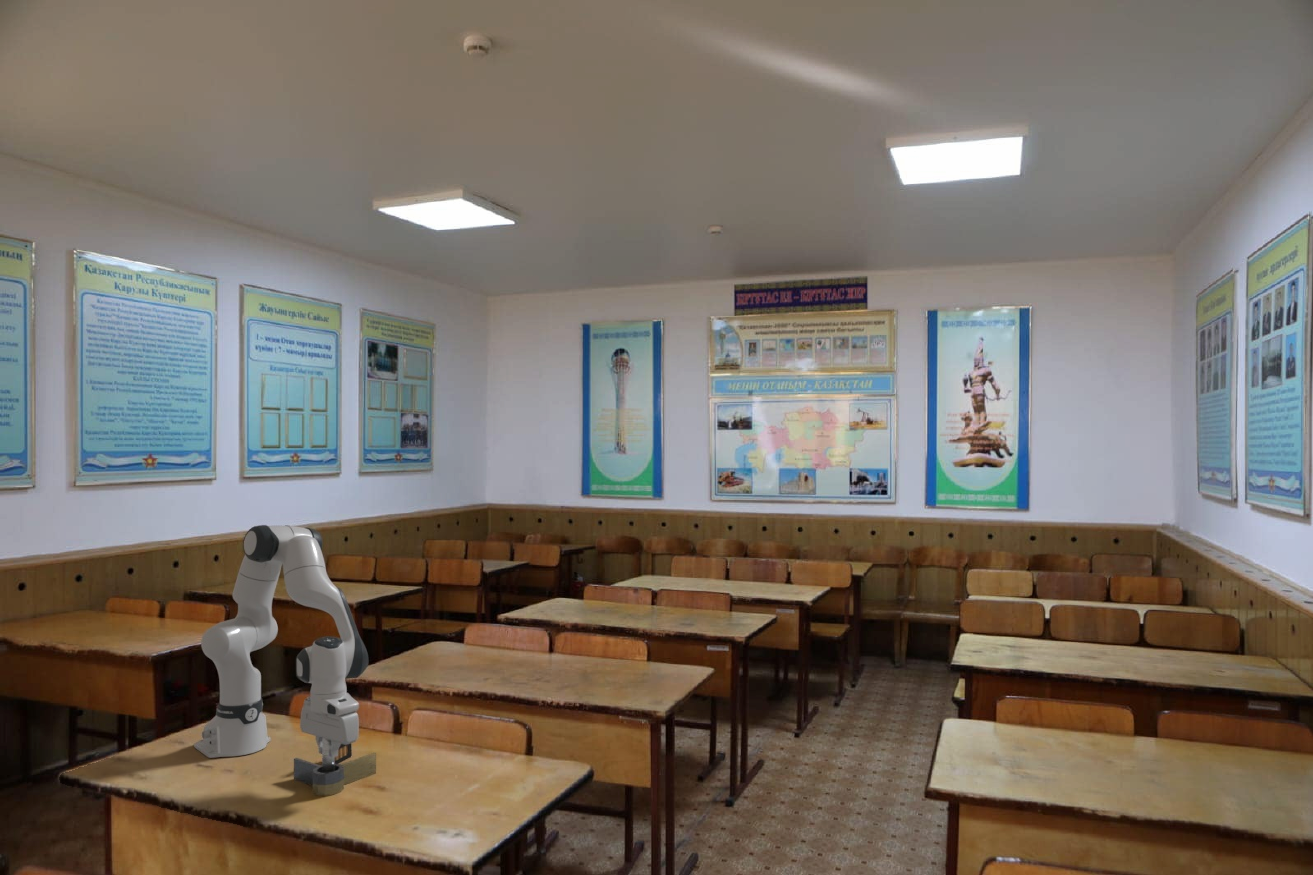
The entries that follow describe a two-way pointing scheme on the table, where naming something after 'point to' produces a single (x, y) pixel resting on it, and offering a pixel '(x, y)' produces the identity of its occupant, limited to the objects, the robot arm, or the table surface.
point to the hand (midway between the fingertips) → (328, 754)
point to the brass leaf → (349, 775)
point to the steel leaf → (316, 773)
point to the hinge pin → (327, 757)
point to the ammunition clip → (343, 753)
